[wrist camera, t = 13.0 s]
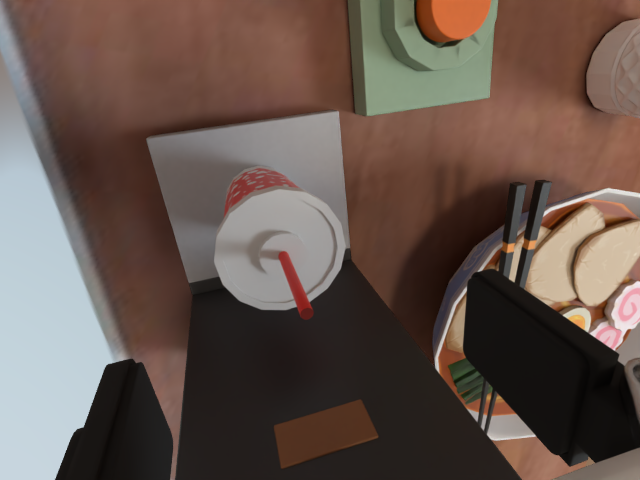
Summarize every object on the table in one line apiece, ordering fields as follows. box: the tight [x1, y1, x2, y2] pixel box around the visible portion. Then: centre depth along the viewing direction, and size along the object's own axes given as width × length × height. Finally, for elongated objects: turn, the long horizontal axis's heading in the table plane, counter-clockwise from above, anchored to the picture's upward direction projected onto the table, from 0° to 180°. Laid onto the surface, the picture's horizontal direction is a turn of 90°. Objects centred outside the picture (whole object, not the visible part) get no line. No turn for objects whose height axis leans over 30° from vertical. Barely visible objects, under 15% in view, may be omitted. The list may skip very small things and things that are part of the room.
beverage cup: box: [214, 166, 346, 320], centre depth 19 cm, size 6×6×14 cm
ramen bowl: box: [432, 180, 640, 441], centre depth 32 cm, size 25×23×8 cm
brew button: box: [416, 0, 491, 42], centre depth 21 cm, size 4×4×2 cm
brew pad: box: [348, 0, 498, 116], centre depth 23 cm, size 11×9×4 cm
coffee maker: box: [146, 110, 522, 480], centre depth 18 cm, size 17×12×22 cm
